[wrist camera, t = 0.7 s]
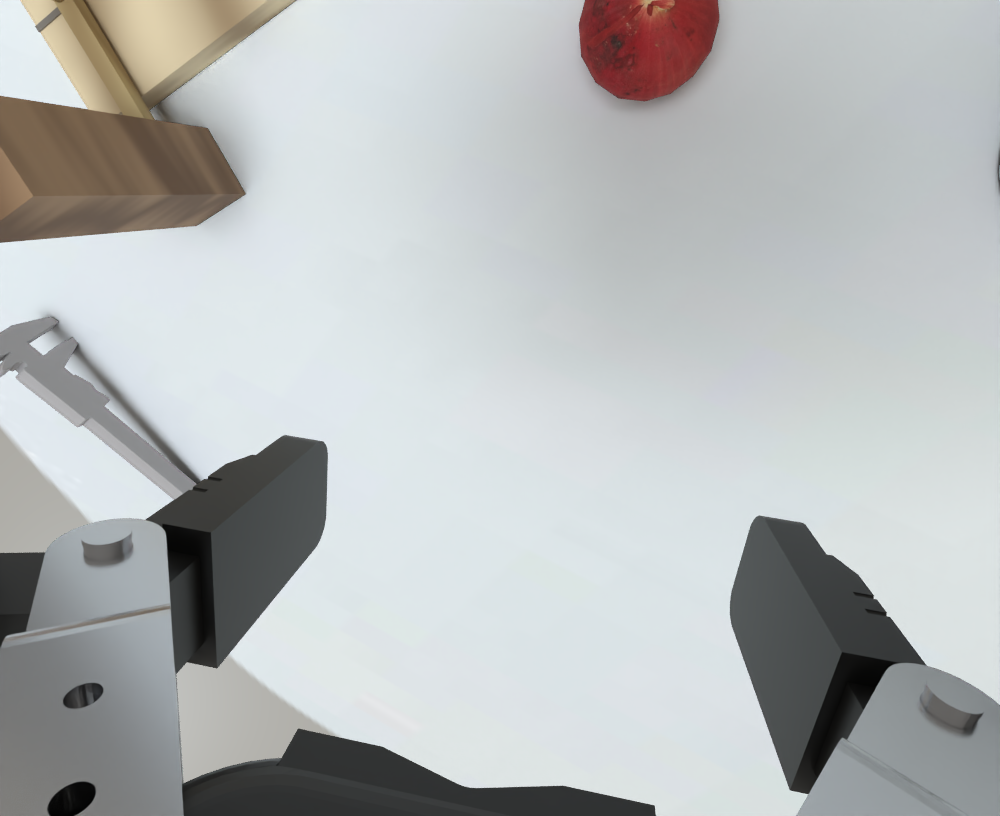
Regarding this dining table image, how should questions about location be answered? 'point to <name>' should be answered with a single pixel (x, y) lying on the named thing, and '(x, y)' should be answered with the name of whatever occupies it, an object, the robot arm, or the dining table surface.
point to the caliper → (82, 401)
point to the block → (104, 160)
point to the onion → (646, 43)
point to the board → (151, 41)
